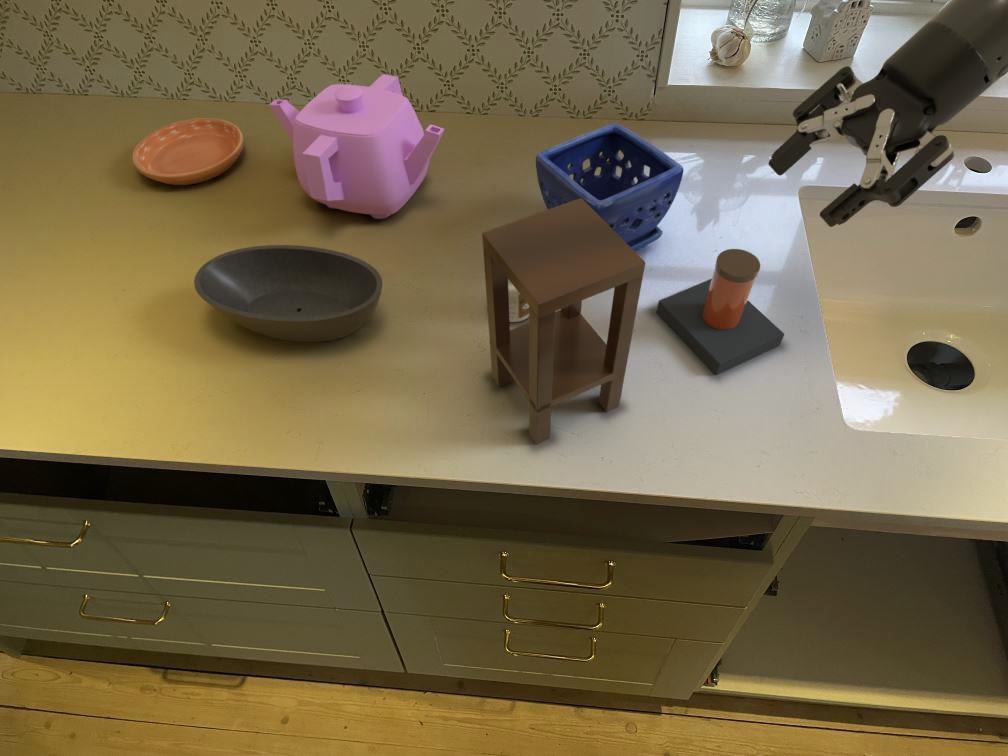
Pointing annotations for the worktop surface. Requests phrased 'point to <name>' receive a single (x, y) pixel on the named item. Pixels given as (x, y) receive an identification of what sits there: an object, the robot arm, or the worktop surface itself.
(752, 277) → the spice jar
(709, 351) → the pad
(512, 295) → the pill bottle
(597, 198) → the flower pot
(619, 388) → the stand
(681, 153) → the worktop surface
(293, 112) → the teapot
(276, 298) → the bowl
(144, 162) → the saucer
